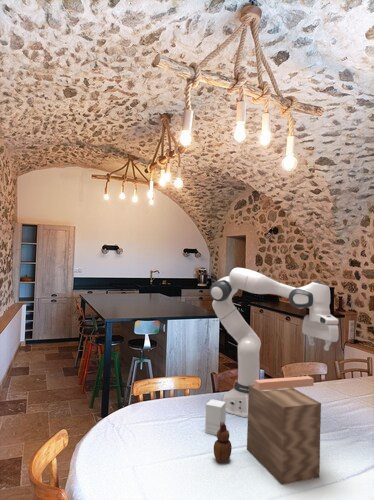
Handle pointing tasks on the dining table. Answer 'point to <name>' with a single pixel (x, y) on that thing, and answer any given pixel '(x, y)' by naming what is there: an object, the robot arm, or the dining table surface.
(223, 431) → the wooden figurine
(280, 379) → the terracotta bar
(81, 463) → the dining table surface
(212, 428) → the supplement box
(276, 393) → the walnut pedestal
